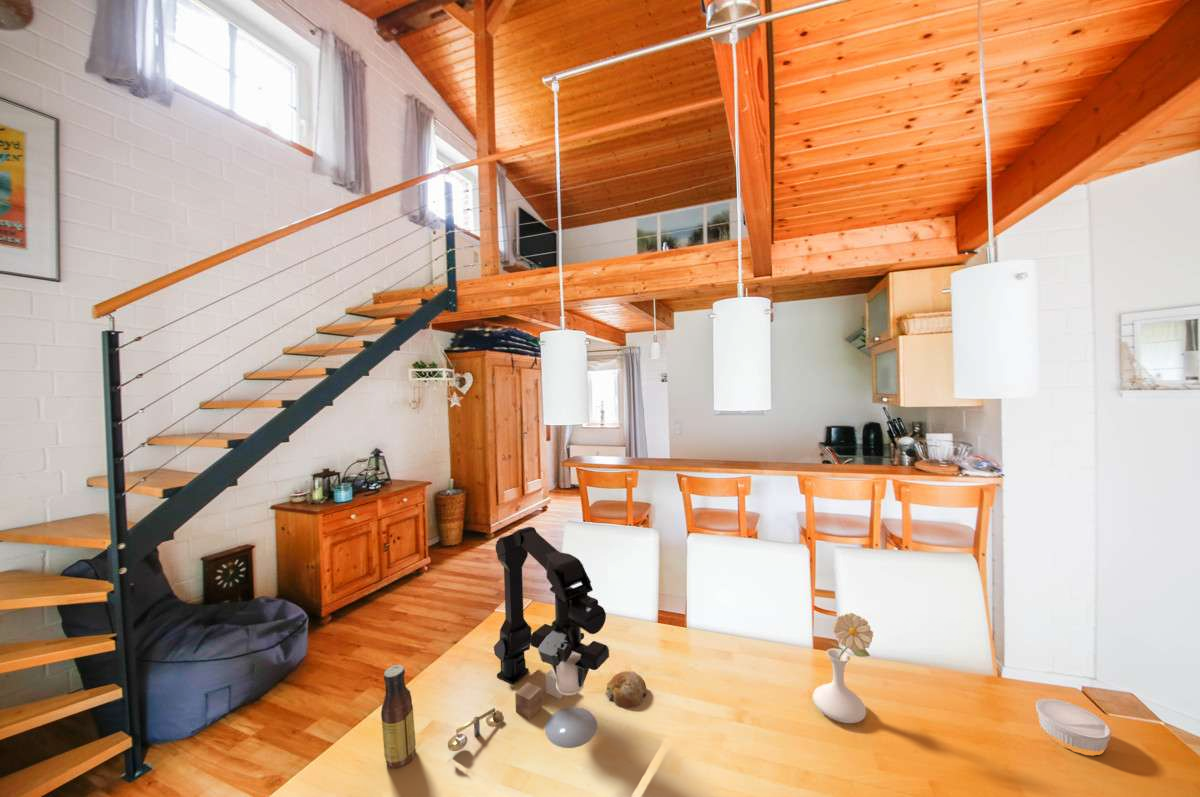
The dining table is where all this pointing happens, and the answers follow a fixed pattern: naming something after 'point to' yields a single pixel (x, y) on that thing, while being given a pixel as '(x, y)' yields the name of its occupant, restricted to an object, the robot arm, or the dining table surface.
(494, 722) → the balance
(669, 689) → the dining table surface
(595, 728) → the dish
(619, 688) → the bread roll
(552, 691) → the beige block
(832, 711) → the flower in vase
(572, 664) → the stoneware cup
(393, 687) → the sauce bottle
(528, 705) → the walnut block
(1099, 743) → the ramekin
